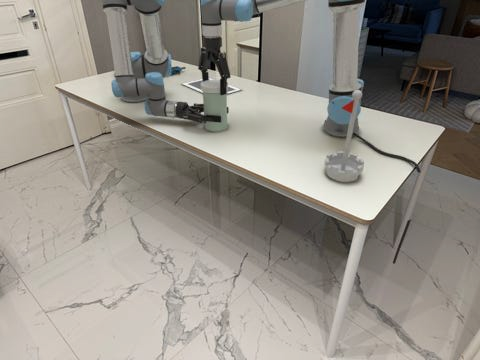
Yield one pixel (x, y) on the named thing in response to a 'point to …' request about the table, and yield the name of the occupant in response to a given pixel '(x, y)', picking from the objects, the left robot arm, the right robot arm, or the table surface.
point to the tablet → (197, 86)
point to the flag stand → (346, 151)
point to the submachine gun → (176, 69)
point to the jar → (215, 110)
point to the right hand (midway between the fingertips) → (214, 91)
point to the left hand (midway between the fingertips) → (224, 114)
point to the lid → (211, 86)
